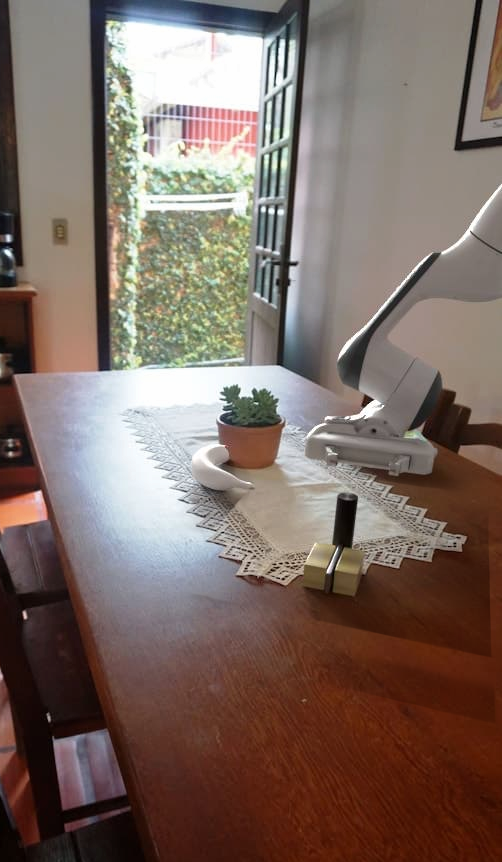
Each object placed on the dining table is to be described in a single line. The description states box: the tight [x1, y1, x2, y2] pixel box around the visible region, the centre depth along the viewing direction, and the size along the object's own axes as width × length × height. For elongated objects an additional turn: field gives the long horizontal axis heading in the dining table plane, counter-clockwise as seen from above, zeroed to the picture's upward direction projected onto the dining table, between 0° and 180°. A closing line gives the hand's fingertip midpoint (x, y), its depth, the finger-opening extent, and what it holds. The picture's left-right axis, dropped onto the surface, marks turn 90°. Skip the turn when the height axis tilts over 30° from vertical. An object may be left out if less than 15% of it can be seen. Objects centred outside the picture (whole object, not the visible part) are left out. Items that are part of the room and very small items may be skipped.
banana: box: [189, 444, 255, 491], centre depth 129 cm, size 5×19×15 cm
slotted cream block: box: [302, 541, 366, 597], centre depth 97 cm, size 23×11×4 cm, turn 160°
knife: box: [324, 491, 359, 595], centre depth 91 cm, size 12×3×10 cm, turn 160°
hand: (362, 466), depth 103 cm, fingers open, 8 cm apart
